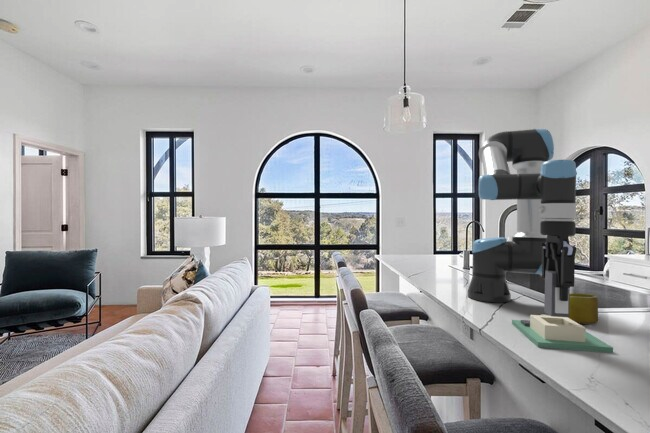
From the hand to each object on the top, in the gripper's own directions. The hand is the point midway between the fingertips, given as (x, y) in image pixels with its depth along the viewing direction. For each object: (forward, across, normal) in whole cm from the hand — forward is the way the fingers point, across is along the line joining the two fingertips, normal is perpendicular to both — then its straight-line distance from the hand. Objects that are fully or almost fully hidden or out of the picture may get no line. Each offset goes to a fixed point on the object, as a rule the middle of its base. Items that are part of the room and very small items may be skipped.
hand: (556, 310), depth 88 cm
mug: (+8, -20, +14) cm, 26 cm away
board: (+8, -2, +1) cm, 8 cm away
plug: (+1, 0, 0) cm, 1 cm away
